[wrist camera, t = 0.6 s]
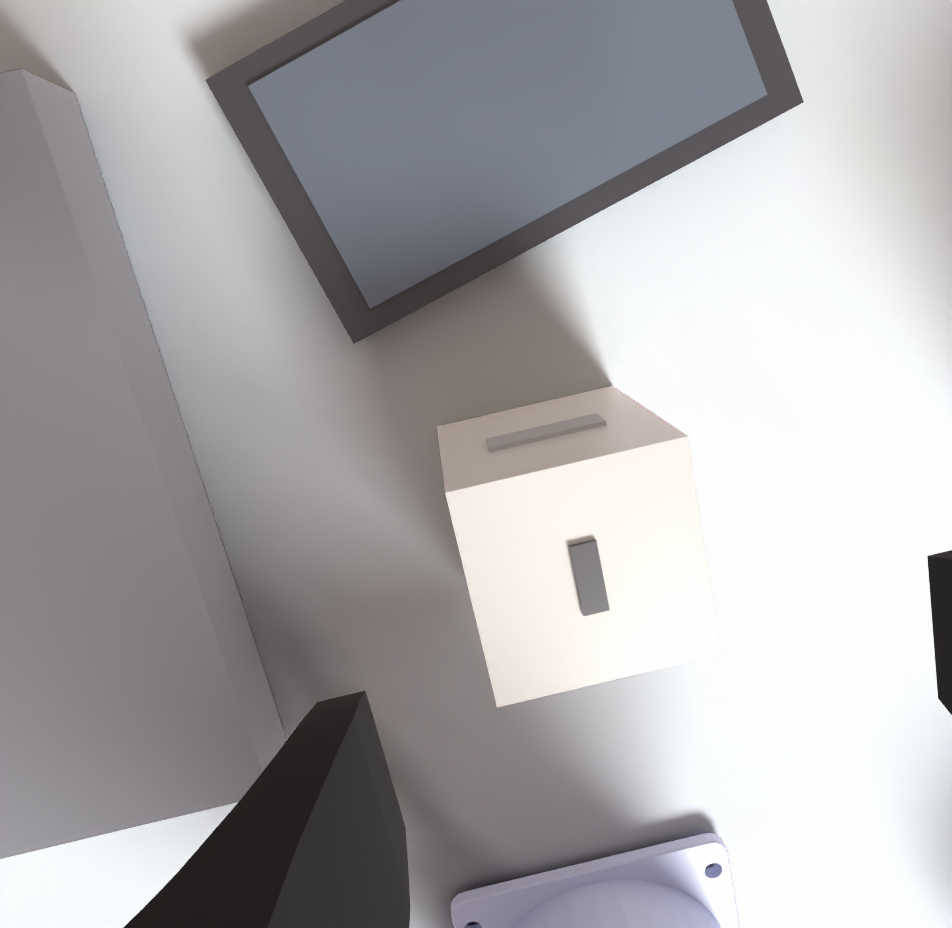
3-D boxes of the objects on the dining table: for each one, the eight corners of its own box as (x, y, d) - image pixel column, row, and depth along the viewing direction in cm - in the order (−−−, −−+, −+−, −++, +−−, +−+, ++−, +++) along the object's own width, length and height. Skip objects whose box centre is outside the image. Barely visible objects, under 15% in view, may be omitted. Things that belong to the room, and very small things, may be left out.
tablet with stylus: (856, 70, 18) (885, 58, 17) (357, 339, 19) (353, 343, 18) (725, -315, 16) (747, -356, 15) (169, 3, 17) (152, -14, 16)
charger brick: (641, 549, 21) (722, 656, 15) (475, 588, 21) (497, 710, 15) (611, 381, 20) (688, 432, 14) (435, 422, 19) (443, 489, 14)
